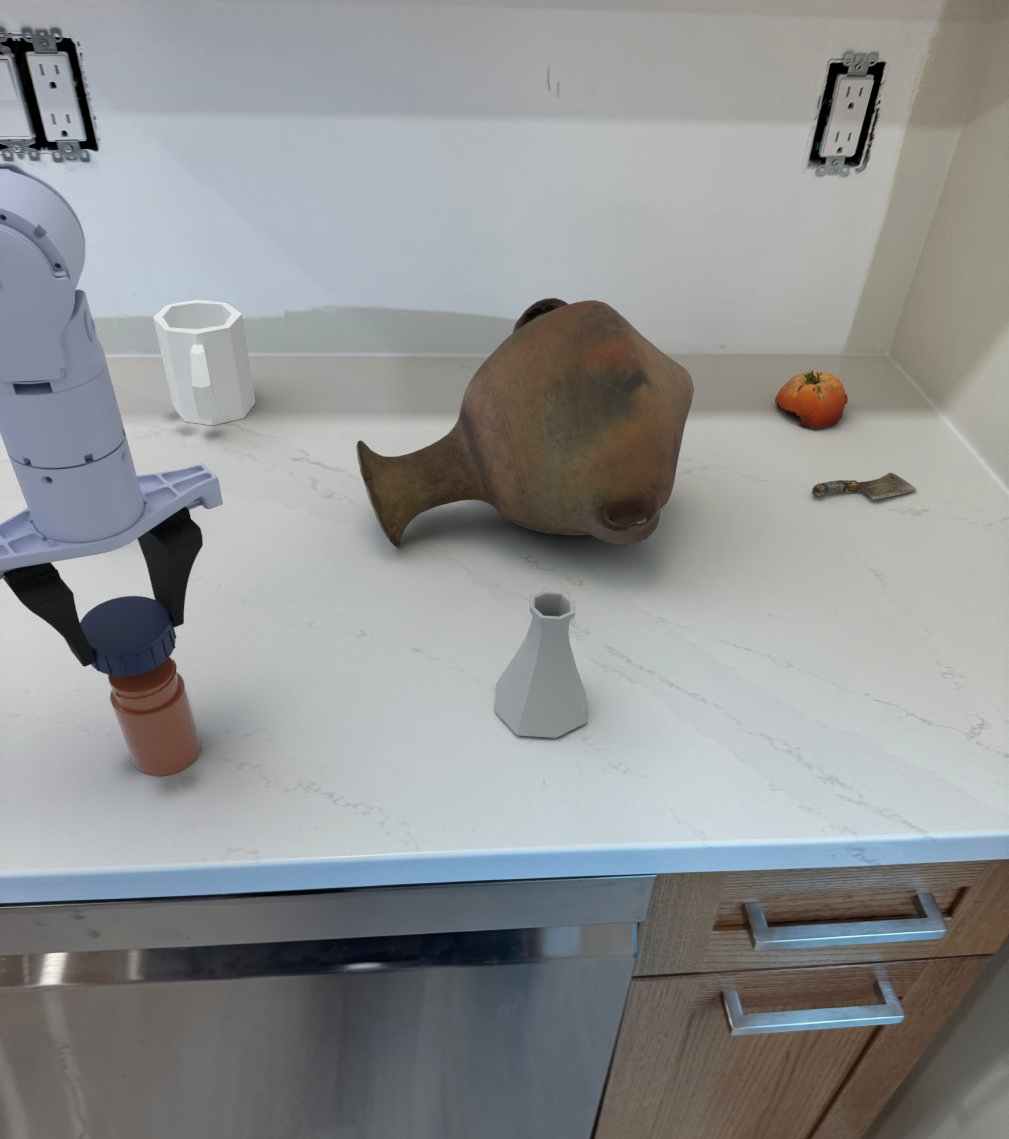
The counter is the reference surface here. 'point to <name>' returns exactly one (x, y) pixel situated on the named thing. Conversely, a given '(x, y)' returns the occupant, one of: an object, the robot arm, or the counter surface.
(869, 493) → the meat cleaver
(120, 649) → the lid
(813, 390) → the tomato
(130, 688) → the jar
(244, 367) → the mug
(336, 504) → the counter surface
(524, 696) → the flask
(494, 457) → the jug
